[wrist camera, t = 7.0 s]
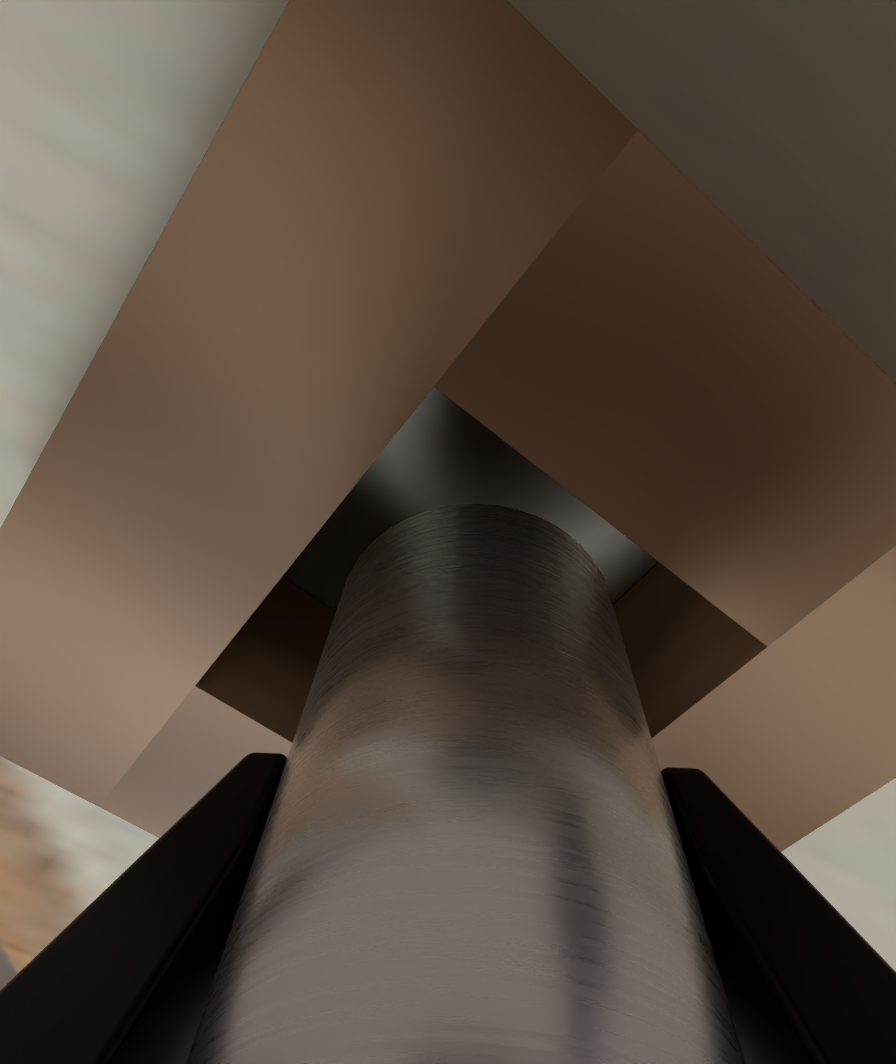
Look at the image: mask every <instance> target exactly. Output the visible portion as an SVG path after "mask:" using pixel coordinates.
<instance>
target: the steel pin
mask: <svg viewBox="0 0 896 1064" xmlns="http://www.w3.org/2000/svg"><path fill="white" fill-rule="evenodd" d="M186 1064H746V1063H745V1059H744V1056H743V1052H742V1049H741V1045H740V1042H739V1039H738V1035H737V1032H736V1028H735V1025H734V1021H733V1018H732V1014H731V1011H730V1008H729V1004H728V1001H727V997H726V994H725V990H724V987H723V983H722V980H721V977H720V973H719V970H718V966H717V963H716V959H715V956H714V952H713V949H712V946H711V942H710V939H709V935H708V932H707V928H706V925H705V921H704V918H703V915H702V911H701V908H700V904H699V901H698V897H697V894H696V890H695V887H694V884H693V880H692V877H691V873H690V870H689V866H688V863H687V859H686V856H685V853H684V849H683V846H682V842H681V839H680V835H679V832H678V828H677V825H676V822H675V818H674V815H673V811H672V808H671V804H670V801H669V798H668V794H667V791H666V787H665V784H664V780H663V777H662V773H661V770H660V767H659V763H658V760H657V756H656V753H655V749H654V746H653V742H652V739H651V736H650V732H649V729H648V725H647V722H646V718H645V715H644V711H643V708H642V705H641V701H640V698H639V694H638V691H637V687H636V684H635V680H634V677H633V674H632V670H631V667H630V663H629V660H628V656H627V653H626V649H625V646H624V643H623V639H622V636H621V632H620V629H619V625H618V622H617V618H616V615H615V612H614V608H613V605H612V601H611V598H610V594H609V591H608V587H607V585H606V583H605V580H604V578H603V576H602V574H601V572H600V570H599V569H598V567H597V565H596V564H595V562H594V561H593V559H592V558H591V557H590V555H589V554H588V553H587V552H586V551H585V550H584V548H583V547H582V546H581V545H580V544H579V543H577V542H576V541H575V540H574V539H573V538H572V537H571V536H569V535H568V534H567V533H566V532H564V531H562V530H561V529H559V528H558V527H556V526H555V525H553V524H552V523H550V522H548V521H546V520H543V519H541V518H539V517H537V516H535V515H532V514H529V513H526V512H523V511H521V510H518V509H513V508H508V507H504V506H499V505H488V504H458V505H452V506H445V507H439V508H436V509H432V510H429V511H425V512H422V513H419V514H417V515H414V516H412V517H410V518H407V519H405V520H403V521H401V522H400V523H398V524H396V525H395V526H393V527H391V528H389V529H388V530H387V531H385V532H384V533H383V534H382V535H380V536H379V537H378V538H376V539H375V540H374V541H373V542H372V543H371V544H370V545H369V546H368V547H367V548H366V549H365V550H364V552H363V553H362V554H361V556H360V557H359V559H358V560H357V561H356V563H355V564H354V566H353V568H352V570H351V572H350V574H349V576H348V577H347V580H346V583H345V586H344V589H343V592H342V595H341V598H340V601H339V604H338V607H337V610H336V613H335V616H334V619H333V622H332V625H331V628H330V631H329V634H328V637H327V640H326V643H325V646H324V649H323V652H322V655H321V658H320V661H319V664H318V667H317V670H316V673H315V676H314V679H313V682H312V685H311V689H310V692H309V695H308V698H307V701H306V704H305V707H304V710H303V713H302V716H301V719H300V722H299V725H298V728H297V731H296V734H295V737H294V740H293V743H292V746H291V749H290V752H289V755H288V758H287V761H286V764H285V767H284V770H283V773H282V776H281V779H280V782H279V785H278V788H277V791H276V794H275V797H274V800H273V803H272V806H271V809H270V812H269V815H268V818H267V821H266V824H265V827H264V830H263V833H262V836H261V839H260V842H259V845H258V848H257V851H256V854H255V857H254V860H253V863H252V866H251V869H250V872H249V875H248V878H247V881H246V884H245V887H244V890H243V893H242V896H241V899H240V903H239V906H238V909H237V912H236V915H235V918H234V921H233V924H232V927H231V930H230V933H229V936H228V939H227V942H226V945H225V948H224V951H223V954H222V957H221V960H220V963H219V966H218V969H217V972H216V975H215V978H214V981H213V984H212V987H211V990H210V993H209V996H208V999H207V1002H206V1005H205V1008H204V1011H203V1014H202V1017H201V1020H200V1023H199V1026H198V1029H197V1032H196V1035H195V1038H194V1041H193V1044H192V1047H191V1050H190V1053H189V1056H188V1059H187V1062H186Z"/></svg>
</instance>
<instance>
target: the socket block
mask: <svg viewBox="0 0 896 1064" xmlns="http://www.w3.org/2000/svg"><path fill="white" fill-rule="evenodd" d="M433 387H436V388H437V389H438V390H440V391H441V392H442V393H443V394H445V395H446V396H447V397H449V398H450V399H451V400H452V401H454V402H455V403H456V404H458V405H459V406H460V407H461V408H463V409H464V410H465V411H466V412H468V413H469V414H470V415H472V416H473V417H474V418H475V419H477V420H478V421H479V422H481V423H482V424H483V425H484V426H486V427H487V428H488V429H490V430H491V431H492V432H493V433H495V434H496V435H497V436H498V437H500V438H501V439H502V440H504V441H505V442H506V443H507V444H509V445H510V446H511V447H513V448H514V449H515V450H516V451H518V452H519V453H520V454H521V455H523V456H524V457H525V458H527V459H528V460H529V461H530V462H532V463H533V464H534V465H536V466H537V467H538V468H539V469H541V470H542V471H543V472H545V473H546V474H547V475H548V476H550V477H551V478H552V479H553V480H555V481H556V482H557V483H559V484H560V485H561V486H562V487H564V488H565V489H566V490H568V491H569V492H570V493H571V494H573V495H574V496H575V497H577V498H578V499H579V500H580V501H582V502H583V503H584V504H585V505H587V506H588V507H589V508H591V509H592V510H593V511H594V512H596V513H597V514H598V515H600V516H601V517H602V518H603V519H605V520H606V521H607V522H609V523H610V524H611V525H612V526H614V527H615V528H616V529H617V530H619V531H620V532H621V533H623V534H624V535H625V536H626V537H628V538H629V539H630V540H632V541H633V542H634V543H635V544H637V545H638V546H639V547H640V548H642V549H643V550H644V551H646V552H647V553H648V554H649V555H651V556H652V557H653V558H655V559H656V560H657V561H658V562H659V563H658V564H657V565H656V566H655V567H654V568H653V569H652V570H651V571H650V572H648V573H647V574H646V575H645V576H644V577H643V578H642V579H641V580H640V581H639V582H638V583H636V584H635V585H634V586H633V587H632V588H631V589H630V590H629V591H628V592H627V593H626V594H624V595H623V596H622V597H621V598H620V599H619V600H618V601H617V602H616V603H615V604H614V605H613V608H614V612H615V615H616V618H617V622H618V625H619V629H620V632H621V636H622V639H623V643H624V646H625V649H626V653H627V656H628V660H629V663H630V667H631V670H632V674H633V677H634V680H635V684H636V687H637V691H638V694H639V698H640V701H641V705H642V708H643V711H644V715H645V718H646V722H647V725H648V729H649V732H650V736H651V739H652V742H653V746H654V749H655V753H656V756H657V760H658V763H659V767H660V770H663V769H664V768H667V767H674V768H696V769H699V770H701V771H703V772H704V773H705V774H707V775H708V776H709V778H710V779H711V780H712V781H713V782H714V783H715V784H716V785H717V786H718V787H719V788H720V789H721V790H722V791H723V792H724V793H725V794H726V795H727V796H728V797H729V798H730V799H731V801H732V802H733V803H734V804H735V805H736V806H737V807H738V808H739V809H740V810H741V811H742V812H743V813H744V814H745V815H746V816H747V817H748V818H749V819H750V820H751V821H752V822H753V823H754V825H755V826H756V827H757V828H758V829H759V830H760V831H761V832H762V833H763V834H764V835H765V836H766V837H767V838H768V839H769V840H770V841H771V842H772V843H773V844H774V845H775V846H776V847H777V849H778V850H779V851H780V852H781V851H783V850H784V849H786V848H787V847H789V846H791V845H792V844H794V843H795V842H797V841H798V840H800V839H801V838H803V837H805V836H806V835H808V834H809V833H811V832H812V831H814V830H815V829H817V828H818V827H820V826H822V825H823V824H825V823H826V822H828V821H829V820H831V819H832V818H834V817H835V816H837V815H839V814H840V813H842V812H843V811H845V810H846V809H848V808H849V807H851V806H852V805H854V804H856V803H857V802H859V801H860V800H862V799H863V798H865V797H866V796H868V795H870V794H871V793H873V792H874V791H876V790H877V789H879V788H880V787H882V786H883V785H885V784H887V783H888V782H890V781H891V780H893V779H894V778H896V384H895V383H894V382H893V381H892V380H891V379H890V378H889V377H888V376H887V375H886V374H885V373H884V372H883V371H882V370H881V369H880V368H879V367H878V366H877V365H876V364H875V363H874V362H873V361H872V360H871V359H870V358H869V357H868V356H867V355H866V354H865V353H864V352H863V351H862V350H861V349H860V348H859V347H858V346H857V345H856V344H855V343H854V342H853V341H852V340H851V339H850V338H849V337H848V336H847V335H846V334H845V333H844V332H843V331H842V330H841V329H840V328H839V327H838V326H836V325H835V324H834V323H833V322H832V321H831V320H830V319H829V318H828V317H827V316H826V315H825V314H824V313H823V312H822V311H821V310H820V309H819V308H818V307H817V306H816V305H815V304H814V303H813V302H812V301H811V300H810V299H809V298H808V297H807V296H806V295H805V294H804V293H803V292H802V291H801V290H800V289H799V288H798V287H797V286H796V285H795V284H794V283H793V282H792V281H791V280H790V279H789V278H788V277H787V276H786V275H785V274H784V273H783V272H782V271H781V270H780V269H779V268H778V267H777V266H776V265H775V264H774V263H773V262H772V261H771V260H770V259H769V258H768V257H767V256H765V255H764V254H763V253H762V252H761V251H760V250H759V249H758V248H757V247H756V246H755V245H754V244H753V243H752V242H751V241H750V240H749V239H748V238H747V237H746V236H745V235H744V234H743V233H742V232H741V231H740V230H739V229H738V228H737V227H736V226H735V225H734V224H733V223H732V222H731V221H730V220H729V219H728V218H727V217H726V216H725V215H724V214H723V213H722V212H721V211H720V210H719V209H718V208H717V207H716V206H715V205H714V204H713V203H712V202H711V201H710V200H709V199H708V198H707V197H706V196H705V195H704V194H703V193H702V192H701V191H700V190H699V189H698V188H697V187H696V186H694V185H693V184H692V183H691V182H690V181H689V180H688V179H687V178H686V177H685V176H684V175H683V174H682V173H681V172H680V171H679V170H678V169H677V168H676V167H675V166H674V165H673V164H672V163H671V162H670V161H669V160H668V159H667V158H666V157H665V156H664V155H663V154H662V153H661V152H660V151H659V150H658V149H657V148H656V147H655V146H654V145H653V144H652V143H651V142H650V141H649V140H648V139H647V138H646V137H645V136H644V135H643V134H642V133H641V132H640V131H639V130H638V129H637V128H636V127H635V126H634V125H633V124H632V123H631V122H630V121H629V120H628V119H627V118H626V117H625V116H624V115H622V114H621V113H620V112H619V111H618V110H617V109H616V108H615V107H614V106H613V105H612V104H611V103H610V102H609V101H608V100H607V99H606V98H605V97H604V96H603V95H602V94H601V93H600V92H599V91H598V90H597V89H596V88H595V87H594V86H593V85H592V84H591V83H590V82H589V81H588V80H587V79H586V78H585V77H584V76H583V75H582V74H581V73H580V72H579V71H578V70H577V69H576V68H575V67H574V66H573V65H572V64H571V63H570V62H569V61H568V60H567V59H566V58H565V57H564V56H563V55H562V54H561V53H560V52H559V51H558V50H557V49H556V48H555V47H554V46H553V45H551V44H550V43H549V42H548V41H547V40H546V39H545V38H544V37H543V36H542V35H541V34H540V33H539V32H538V31H537V30H536V29H535V28H534V27H533V26H532V25H531V24H530V23H529V22H528V21H527V20H526V19H525V18H524V17H523V16H522V15H521V14H520V13H519V12H518V11H517V10H516V9H515V8H514V7H513V6H512V5H511V4H510V3H509V2H508V1H507V0H290V1H289V2H288V4H287V6H286V8H285V10H284V11H283V13H282V15H281V17H280V19H279V21H278V22H277V24H276V26H275V28H274V30H273V32H272V33H271V35H270V37H269V39H268V41H267V43H266V44H265V46H264V48H263V50H262V52H261V53H260V55H259V57H258V59H257V61H256V63H255V64H254V66H253V68H252V70H251V72H250V74H249V75H248V77H247V79H246V81H245V83H244V85H243V86H242V88H241V90H240V92H239V94H238V95H237V97H236V99H235V101H234V103H233V105H232V106H231V108H230V110H229V112H228V114H227V116H226V117H225V119H224V121H223V123H222V125H221V127H220V128H219V130H218V132H217V134H216V136H215V137H214V139H213V141H212V143H211V145H210V147H209V148H208V150H207V152H206V154H205V156H204V158H203V159H202V161H201V163H200V165H199V167H198V169H197V170H196V172H195V174H194V176H193V178H192V179H191V181H190V183H189V185H188V187H187V189H186V190H185V192H184V194H183V196H182V198H181V200H180V201H179V203H178V205H177V207H176V209H175V211H174V212H173V214H172V216H171V218H170V220H169V222H168V223H167V225H166V227H165V229H164V231H163V232H162V234H161V236H160V238H159V240H158V242H157V243H156V245H155V247H154V249H153V251H152V253H151V254H150V256H149V258H148V260H147V262H146V264H145V265H144V267H143V269H142V271H141V273H140V274H139V276H138V278H137V280H136V282H135V284H134V285H133V287H132V289H131V291H130V293H129V295H128V296H127V298H126V300H125V302H124V304H123V306H122V307H121V309H120V311H119V313H118V315H117V316H116V318H115V320H114V322H113V324H112V326H111V327H110V329H109V331H108V333H107V335H106V337H105V338H104V340H103V342H102V344H101V346H100V348H99V349H98V351H97V353H96V355H95V357H94V358H93V360H92V362H91V364H90V366H89V368H88V369H87V371H86V373H85V375H84V377H83V379H82V380H81V382H80V384H79V386H78V388H77V390H76V391H75V393H74V395H73V397H72V399H71V400H70V402H69V404H68V406H67V408H66V410H65V411H64V413H63V415H62V417H61V419H60V421H59V422H58V424H57V426H56V428H55V430H54V432H53V433H52V435H51V437H50V439H49V441H48V442H47V444H46V446H45V448H44V450H43V452H42V453H41V455H40V457H39V459H38V461H37V463H36V464H35V466H34V468H33V470H32V472H31V474H30V475H29V477H28V479H27V481H26V483H25V484H24V486H23V488H22V490H21V492H20V494H19V495H18V497H17V499H16V501H15V503H14V505H13V506H12V508H11V510H10V512H9V514H8V516H7V517H6V519H5V521H4V523H3V525H2V526H1V528H0V756H2V757H4V758H6V759H8V760H10V761H11V762H13V763H15V764H17V765H19V766H21V767H23V768H25V769H27V770H29V771H31V772H33V773H35V774H37V775H39V776H41V777H42V778H44V779H46V780H48V781H50V782H52V783H54V784H56V785H58V786H60V787H62V788H64V789H66V790H68V791H70V792H71V793H73V794H75V795H77V796H79V797H81V798H83V799H85V800H87V801H89V802H91V803H93V804H95V805H97V806H99V807H101V808H102V809H104V810H106V811H108V812H110V813H112V814H114V815H116V816H118V817H120V818H122V819H124V820H126V821H128V822H130V823H132V824H133V825H135V826H137V827H139V828H141V829H143V830H145V831H147V832H149V833H151V834H153V835H155V836H157V837H159V838H160V837H161V836H162V835H163V834H164V833H165V832H167V831H168V830H169V829H170V828H171V827H172V826H173V825H174V824H175V823H176V822H177V821H178V820H179V819H180V818H181V817H182V816H183V815H184V814H185V813H186V812H187V811H188V810H189V809H191V808H192V807H193V806H194V805H195V804H196V803H197V802H198V801H199V800H200V799H201V798H202V797H203V796H204V795H205V794H206V793H207V792H208V791H209V790H210V789H211V788H212V787H214V786H215V785H216V784H217V783H218V782H219V781H220V780H221V779H222V778H223V777H224V776H225V775H226V774H227V773H228V772H229V771H230V770H231V769H232V768H233V767H234V766H235V765H236V764H238V763H239V762H240V761H241V760H242V759H243V758H244V757H245V756H247V755H248V754H250V753H281V754H283V755H285V756H286V757H287V758H288V755H289V752H290V749H291V746H292V743H293V740H294V737H295V734H296V731H297V728H298V725H299V722H300V719H301V716H302V713H303V710H304V707H305V704H306V701H307V698H308V695H309V692H310V689H311V685H312V682H313V679H314V676H315V673H316V670H317V667H318V664H319V661H320V658H321V655H322V652H323V649H324V646H325V643H326V640H327V637H328V634H329V631H330V628H331V625H332V622H333V619H334V616H335V613H336V612H335V611H333V610H332V609H330V608H329V607H327V606H326V605H324V604H323V603H321V602H319V601H318V600H316V599H315V598H313V597H312V596H310V595H309V594H307V593H306V592H304V591H303V590H301V589H300V588H298V587H296V586H295V585H293V584H292V583H290V582H289V581H287V580H286V579H284V578H283V577H282V576H283V575H284V574H285V572H286V571H287V570H288V569H289V567H290V566H291V565H292V563H293V562H294V561H295V560H296V558H297V557H298V556H299V555H300V553H301V552H302V551H303V550H304V548H305V547H306V546H307V545H308V543H309V542H310V541H311V540H312V538H313V537H314V536H315V535H316V533H317V532H318V531H319V530H320V528H321V527H322V526H323V525H324V523H325V522H326V521H327V520H328V518H329V517H330V516H331V515H332V513H333V512H334V511H335V510H336V508H337V507H338V506H339V505H340V503H341V502H342V501H343V500H344V498H345V497H346V496H347V495H348V493H349V492H350V491H351V490H352V488H353V487H354V486H355V484H356V483H357V482H358V481H359V479H360V478H361V477H362V476H363V474H364V473H365V472H366V471H367V469H368V468H369V467H370V466H371V464H372V463H373V462H374V461H375V459H376V458H377V457H378V456H379V454H380V453H381V452H382V451H383V449H384V448H385V447H386V446H387V444H388V443H389V442H390V441H391V439H392V438H393V437H394V436H395V434H396V433H397V432H398V431H399V429H400V428H401V427H402V426H403V424H404V423H405V422H406V421H407V419H408V418H409V417H410V416H411V414H412V413H413V412H414V411H415V409H416V408H417V407H418V405H419V404H420V403H421V402H422V400H423V399H424V398H425V397H426V395H427V394H428V393H429V392H430V390H431V389H432V388H433Z"/></svg>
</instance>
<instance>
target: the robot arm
mask: <svg viewBox="0 0 896 1064" xmlns="http://www.w3.org/2000/svg"><path fill="white" fill-rule="evenodd" d="M286 761H287V757H286V756H285V755H283V754H281V753H250V754H248V755H247V756H245V757H244V758H243V759H242V760H241V761H240V762H239V763H238V764H236V765H235V766H234V767H233V768H232V769H231V770H230V771H229V772H228V773H227V774H226V775H225V776H224V777H223V778H222V779H221V780H220V781H219V782H218V783H217V784H216V785H215V786H214V787H212V788H211V789H210V790H209V791H208V792H207V793H206V794H205V795H204V796H203V797H202V798H201V799H200V800H199V801H198V802H197V803H196V804H195V805H194V806H193V807H192V808H191V809H189V810H188V811H187V812H186V813H185V814H184V815H183V816H182V817H181V818H180V819H179V820H178V821H177V822H176V823H175V824H174V825H173V826H172V827H171V828H170V829H169V830H168V831H167V832H165V833H164V834H163V835H162V836H161V837H160V838H159V839H158V840H157V841H156V842H155V843H154V844H153V845H152V846H151V847H150V848H149V849H148V850H147V851H146V852H145V853H144V854H143V855H141V856H140V857H139V858H138V859H137V860H136V861H135V862H134V863H133V864H132V865H131V866H130V867H129V868H128V869H127V870H126V871H125V872H124V873H123V874H122V875H121V876H120V877H119V878H117V879H116V880H115V881H114V882H113V883H112V884H111V885H110V886H109V887H108V888H107V889H106V890H105V891H104V892H103V893H102V894H101V895H100V896H99V897H98V898H97V899H96V900H94V901H93V902H92V903H91V904H90V905H89V906H88V907H87V908H86V909H85V910H84V911H83V912H82V913H81V914H80V915H79V916H78V917H77V918H76V919H75V920H74V921H73V922H72V923H70V924H69V925H68V926H67V927H66V928H65V929H64V930H63V931H62V932H61V933H60V934H59V935H58V936H57V937H56V938H55V939H54V940H53V941H52V942H51V943H50V944H49V945H48V946H46V947H45V948H44V949H43V950H42V951H41V952H40V953H39V954H38V955H37V956H36V957H35V958H34V959H33V960H32V961H31V962H30V963H29V964H28V965H27V966H26V967H25V968H23V969H22V970H21V971H20V972H19V973H18V974H17V975H16V976H15V977H14V978H13V979H12V980H11V981H10V982H9V983H8V984H7V985H6V986H5V987H4V988H3V989H2V990H1V991H0V1064H186V1062H187V1059H188V1056H189V1053H190V1050H191V1047H192V1044H193V1041H194V1038H195V1035H196V1032H197V1029H198V1026H199V1023H200V1020H201V1017H202V1014H203V1011H204V1008H205V1005H206V1002H207V999H208V996H209V993H210V990H211V987H212V984H213V981H214V978H215V975H216V972H217V969H218V966H219V963H220V960H221V957H222V954H223V951H224V948H225V945H226V942H227V939H228V936H229V933H230V930H231V927H232V924H233V921H234V918H235V915H236V912H237V909H238V906H239V903H240V899H241V896H242V893H243V890H244V887H245V884H246V881H247V878H248V875H249V872H250V869H251V866H252V863H253V860H254V857H255V854H256V851H257V848H258V845H259V842H260V839H261V836H262V833H263V830H264V827H265V824H266V821H267V818H268V815H269V812H270V809H271V806H272V803H273V800H274V797H275V794H276V791H277V788H278V785H279V782H280V779H281V776H282V773H283V770H284V767H285V764H286ZM661 773H662V777H663V780H664V784H665V787H666V791H667V794H668V798H669V801H670V804H671V808H672V811H673V815H674V818H675V822H676V825H677V828H678V832H679V835H680V839H681V842H682V846H683V849H684V853H685V856H686V859H687V863H688V866H689V870H690V873H691V877H692V880H693V884H694V887H695V890H696V894H697V897H698V901H699V904H700V908H701V911H702V915H703V918H704V921H705V925H706V928H707V932H708V935H709V939H710V942H711V946H712V949H713V952H714V956H715V959H716V963H717V966H718V970H719V973H720V977H721V980H722V983H723V987H724V990H725V994H726V997H727V1001H728V1004H729V1008H730V1011H731V1014H732V1018H733V1021H734V1025H735V1028H736V1032H737V1035H738V1039H739V1042H740V1045H741V1049H742V1052H743V1056H744V1059H745V1063H746V1064H896V972H895V971H894V970H893V969H892V968H891V966H890V965H889V964H888V963H887V962H886V961H885V960H884V959H883V958H882V957H881V956H880V955H879V954H878V953H877V952H876V951H875V950H874V949H873V948H872V947H871V946H870V945H869V944H868V942H867V941H866V940H865V939H864V938H863V937H862V936H861V935H860V934H859V933H858V932H857V931H856V930H855V929H854V928H853V927H852V926H851V925H850V924H849V923H848V922H847V921H846V920H845V918H844V917H843V916H842V915H841V914H840V913H839V912H838V911H837V910H836V909H835V908H834V907H833V906H832V905H831V904H830V903H829V902H828V901H827V900H826V899H825V898H824V897H823V895H822V894H821V893H820V892H819V891H818V890H817V889H816V888H815V887H814V886H813V885H812V884H811V883H810V882H809V881H808V880H807V879H806V878H805V877H804V876H803V875H802V874H801V873H800V871H799V870H798V869H797V868H796V867H795V866H794V865H793V864H792V863H791V862H790V861H789V860H788V859H787V858H786V857H785V856H784V855H783V854H782V853H781V852H780V851H779V850H778V849H777V847H776V846H775V845H774V844H773V843H772V842H771V841H770V840H769V839H768V838H767V837H766V836H765V835H764V834H763V833H762V832H761V831H760V830H759V829H758V828H757V827H756V826H755V825H754V823H753V822H752V821H751V820H750V819H749V818H748V817H747V816H746V815H745V814H744V813H743V812H742V811H741V810H740V809H739V808H738V807H737V806H736V805H735V804H734V803H733V802H732V801H731V799H730V798H729V797H728V796H727V795H726V794H725V793H724V792H723V791H722V790H721V789H720V788H719V787H718V786H717V785H716V784H715V783H714V782H713V781H712V780H711V779H710V778H709V776H708V775H707V774H705V773H704V772H703V771H701V770H699V769H696V768H674V767H667V768H664V769H663V770H661Z"/></svg>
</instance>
